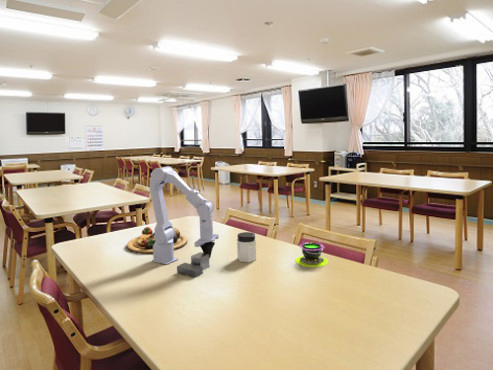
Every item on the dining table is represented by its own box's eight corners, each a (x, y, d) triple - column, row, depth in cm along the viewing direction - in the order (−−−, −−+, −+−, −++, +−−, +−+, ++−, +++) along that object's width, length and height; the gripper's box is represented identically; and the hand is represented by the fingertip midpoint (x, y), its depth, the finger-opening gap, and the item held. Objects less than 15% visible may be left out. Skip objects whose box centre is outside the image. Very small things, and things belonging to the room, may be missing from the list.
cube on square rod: (191, 269, 152) (190, 256, 151) (200, 264, 157) (199, 252, 156) (200, 271, 149) (200, 258, 148) (209, 267, 154) (208, 254, 153)
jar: (246, 264, 156) (245, 238, 155) (233, 259, 162) (233, 234, 161) (259, 258, 162) (259, 234, 161) (247, 254, 168) (247, 230, 167)
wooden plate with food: (123, 241, 197) (122, 227, 195) (179, 233, 210) (178, 219, 208) (130, 260, 168) (129, 243, 167) (194, 249, 181) (193, 233, 180)
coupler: (177, 273, 148) (176, 266, 147) (197, 263, 159) (197, 256, 159) (195, 277, 142) (194, 270, 142) (215, 267, 154) (215, 260, 153)
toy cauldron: (314, 270, 148) (314, 245, 146) (288, 261, 159) (288, 237, 157) (335, 261, 157) (335, 238, 156) (309, 253, 169) (309, 231, 167)
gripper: (202, 234, 147) (204, 264, 149) (223, 226, 159) (224, 254, 161) (190, 231, 150) (191, 261, 152) (211, 224, 163) (212, 252, 164)
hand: (207, 258), depth 157 cm, fingers closed
